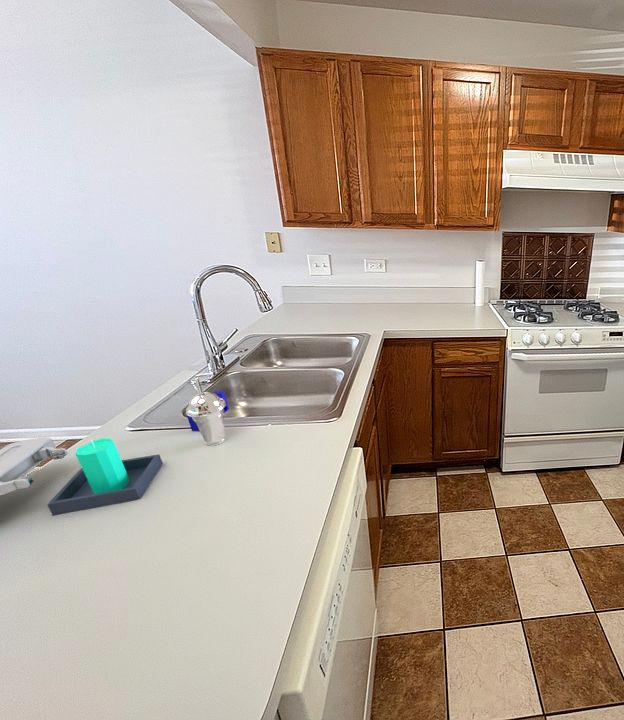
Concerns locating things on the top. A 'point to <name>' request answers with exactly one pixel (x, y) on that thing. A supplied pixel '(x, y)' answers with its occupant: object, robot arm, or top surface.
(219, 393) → the cable clip
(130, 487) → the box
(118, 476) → the candle
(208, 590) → the top surface
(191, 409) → the cup with straw
